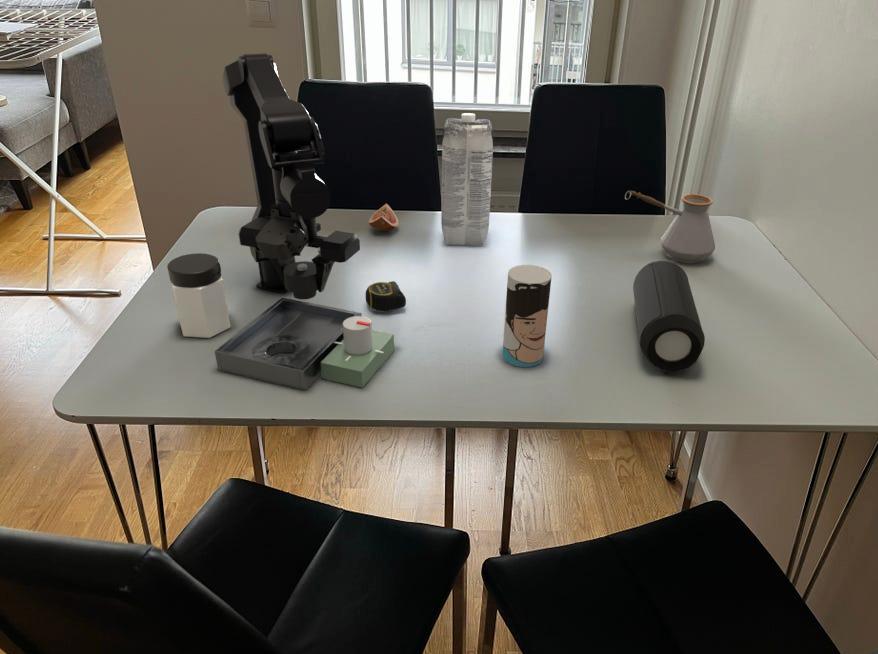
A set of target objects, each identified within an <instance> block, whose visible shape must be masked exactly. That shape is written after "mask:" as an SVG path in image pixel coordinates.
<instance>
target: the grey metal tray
mask: <svg viewBox="0 0 878 654" xmlns="http://www.w3.org/2000/svg"><path fill="white" fill-rule="evenodd" d="M283 308H289V309H294V310H299V311H303V312H309V313H314V314H319V315H324V316H329V317H333V318H338V319H343V320H346V319H347V318H350V317H354V316H362V317H363V315H362V312H357V311H354V310H348V309H343V308H337V307H333V306H328V305H324V304H318V303H314V302H308V301H304V300H303V301H302V300H299V299H293V298H292V299H291V298H289V297H288V298H287V297H282V296H281V298H278V300H277V301H275V302H274V303H273V304H272V305H271V306H269V307H268V308H267V309H265V310H264V311H263V312H262V313H260V314H259V315H258V316H256V318H254V319H253V320H252V321H250V322H249V323H248V324H247V325H245V326H243V328H242V329H240V330H239V331H238V332H237V333H235V334H234V335H233V336H232V337H230V338H229V339H228V340H226V341H225V342H224V343H223V344H221V345H220V346H219V347H218V348H216V349H215V350H214V356H215V357H214V358H215V362H216V368H217V371H222V372H225V373H230V374H234V375H238V376H242V377H245V378H250V379H255V380H260V381H265V382H268V383H273V384H276V385H281V386H285V387H289V388H294V389H298V390H301V391H307V390H308V389H309V387H311V385H313V383H314V382H315V381H316V380H317V379H318V378H319V377H321V376H322V372H321V362H322V361H323V360H324V358H325V357H326V356H327V355H328V354H329V353H330V352H331V351H332V350H333V349H334V348H335V347H336V346H337V345H338V344H335V343H334V342H341V341H342V340H343V339H344V335H343V327H342V328H341V329H340V330H339V331H338V332H337V333H336V334H335V335H334V336H333V337H332V338H331V339H330V340H329V341H328V342H327V343H326V344H325V345H324V346H323V347H322V348H321V349H320V350H319V351H318V352H317V353H316V354H315V355H314V356H313V357H312V358H311V359H310V360H309V361H308V362H307V363H306V364H305V365H304V366H303V367H302V368H300V367H295V366H291V365H286V364H282V363H277V362H273V361H269V360H264V359H260V358H255V357H251V356H247V355H242V354H238V353H233V352H231V351H232V350H234V349H235V348H236V347H237V346H238V345H240V344H241V343H242V342H243V341H245V340H246V339H247V338H248V337H249V336H251V335H252V334H253V333H254V332H255V331H257V330H258V329H259V328H260V327H262V326H263V325H264V324H265V323H266V322H268V321H269V320H270V319H271V318H272V317H274V316H275V315H276V314H277V313H279V312H280V311H281V310H282V309H283Z"/></svg>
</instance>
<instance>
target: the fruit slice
mask: <svg viewBox="0 0 878 654" xmlns="http://www.w3.org/2000/svg"><path fill="white" fill-rule="evenodd" d="M399 223H400V222H399V219H398V217H397V215H396V213H395V211H394V210H393V209H392V208H391V206H390V205H389V204H388V203H385V204H384V205H382V206H381V207H380V208H379V209H377V211H376V212H374V213H373V214H371V217H370V218H369V219H368V224H369V225H370V226H371V228H373V229H375V230H378V231H380V232H389V231H392V230H394V229H396V228H397V227H398V226H399Z"/></svg>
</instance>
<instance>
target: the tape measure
mask: <svg viewBox="0 0 878 654" xmlns="http://www.w3.org/2000/svg"><path fill="white" fill-rule="evenodd" d="M365 302H366V304H367V306H368V307H369V308H371V309H372V310H373V311H376V312H392V311H394V310H399V309H402V308H405V307H406V304H407V298H406V296H405V294H404V293H403V292H402V290H401V289H400V287H399V284H398V283H397V282H396V281H395V280H392V281H388V282H386V281H377V282H374V283H372V284H370V285H368V286H367V288H366V290H365Z"/></svg>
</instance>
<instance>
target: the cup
mask: <svg viewBox="0 0 878 654" xmlns="http://www.w3.org/2000/svg"><path fill="white" fill-rule="evenodd" d="M552 276H553V275H552V272H551V271H549V269H547V268H545V267H543V266H541V265H540V266H539V265H534V264H520V265H516V266H513V267H511V268H510V269H508V272H507V283H506V295H505V309H504V310H505V313H504V326H503V341H502V354H501V355H502V358H503V360H504V361H505V362H506V363H508V364H510V365H511V366H515V367H518V368H519V367H520V368H531V367H535V366H537V365H539V364H541V363H542V362H543V359H544V353H545V352H544V351H545V342H546V334H547V326H548V316H549V315H548V314H549V305H550V296H551V285H552Z"/></svg>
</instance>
